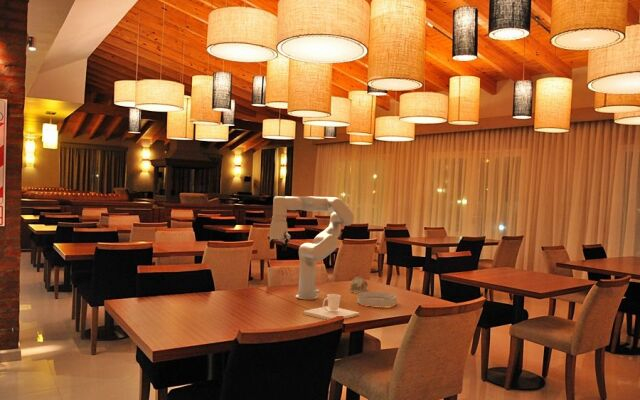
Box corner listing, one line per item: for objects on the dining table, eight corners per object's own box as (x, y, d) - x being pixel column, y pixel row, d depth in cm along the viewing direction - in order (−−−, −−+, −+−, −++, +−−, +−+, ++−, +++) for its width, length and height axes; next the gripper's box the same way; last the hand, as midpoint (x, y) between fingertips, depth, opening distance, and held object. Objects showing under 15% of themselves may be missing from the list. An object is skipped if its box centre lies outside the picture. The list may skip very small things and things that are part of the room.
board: (328, 308, 275) (328, 305, 275) (359, 315, 262) (359, 312, 262) (303, 314, 260) (303, 311, 260) (334, 321, 247) (334, 318, 247)
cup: (343, 312, 262) (343, 296, 262) (327, 314, 256) (327, 297, 256) (334, 309, 267) (335, 293, 267) (318, 311, 261) (319, 294, 261)
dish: (373, 298, 310) (374, 290, 309) (404, 305, 294) (404, 296, 294) (348, 302, 294) (349, 293, 294) (379, 310, 278) (380, 300, 278)
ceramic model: (345, 291, 329) (346, 275, 329) (358, 289, 335) (359, 274, 335) (359, 295, 317) (360, 278, 317) (373, 293, 324) (374, 277, 324)
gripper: (263, 217, 291) (262, 248, 291) (286, 219, 280) (284, 251, 280) (273, 217, 297) (271, 247, 297) (295, 219, 286) (294, 251, 286)
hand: (278, 249), depth 289 cm, fingers open, 9 cm apart
